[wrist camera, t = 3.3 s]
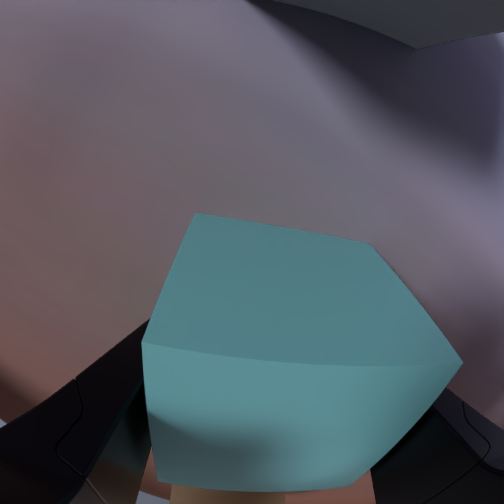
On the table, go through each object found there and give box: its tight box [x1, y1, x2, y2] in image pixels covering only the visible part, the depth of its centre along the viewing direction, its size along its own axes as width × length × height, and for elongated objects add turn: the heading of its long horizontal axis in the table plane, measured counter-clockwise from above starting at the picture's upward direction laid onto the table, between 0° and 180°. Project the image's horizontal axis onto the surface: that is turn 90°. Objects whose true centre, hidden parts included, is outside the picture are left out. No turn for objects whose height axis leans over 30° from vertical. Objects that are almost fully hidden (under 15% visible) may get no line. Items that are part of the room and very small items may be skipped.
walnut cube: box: [170, 484, 286, 504], centre depth 12 cm, size 5×5×5 cm
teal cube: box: [142, 213, 463, 492], centre depth 7 cm, size 5×5×5 cm
